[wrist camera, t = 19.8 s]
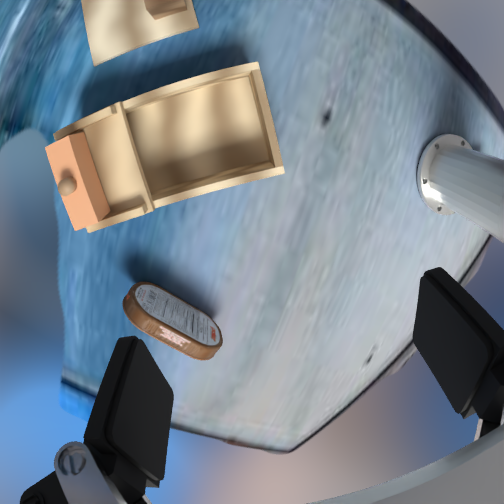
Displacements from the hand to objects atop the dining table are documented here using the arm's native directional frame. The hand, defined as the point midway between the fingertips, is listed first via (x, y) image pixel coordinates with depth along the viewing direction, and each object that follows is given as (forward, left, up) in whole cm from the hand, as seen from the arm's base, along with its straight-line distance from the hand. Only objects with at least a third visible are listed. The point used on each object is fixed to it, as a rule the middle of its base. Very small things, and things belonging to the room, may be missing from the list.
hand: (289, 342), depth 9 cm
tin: (+14, +16, -30) cm, 37 cm away
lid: (+8, -25, -30) cm, 40 cm away
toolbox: (+7, -6, -30) cm, 31 cm away
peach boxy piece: (+16, -6, -22) cm, 28 cm away
